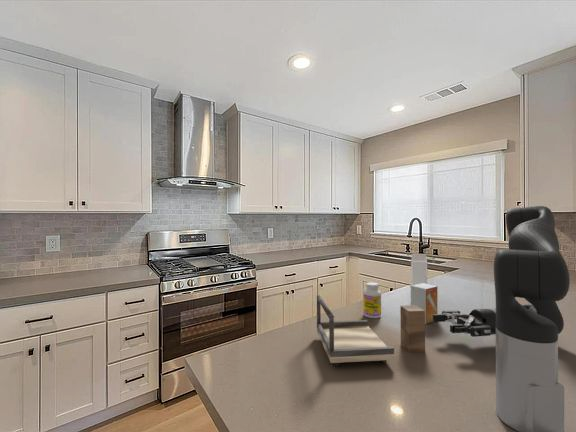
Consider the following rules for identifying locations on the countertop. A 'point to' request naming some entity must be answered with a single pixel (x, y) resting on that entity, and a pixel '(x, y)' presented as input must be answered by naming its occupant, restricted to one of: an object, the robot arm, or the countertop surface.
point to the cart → (350, 339)
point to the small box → (425, 299)
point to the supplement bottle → (372, 300)
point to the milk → (418, 269)
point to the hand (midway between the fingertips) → (441, 323)
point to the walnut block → (412, 328)
